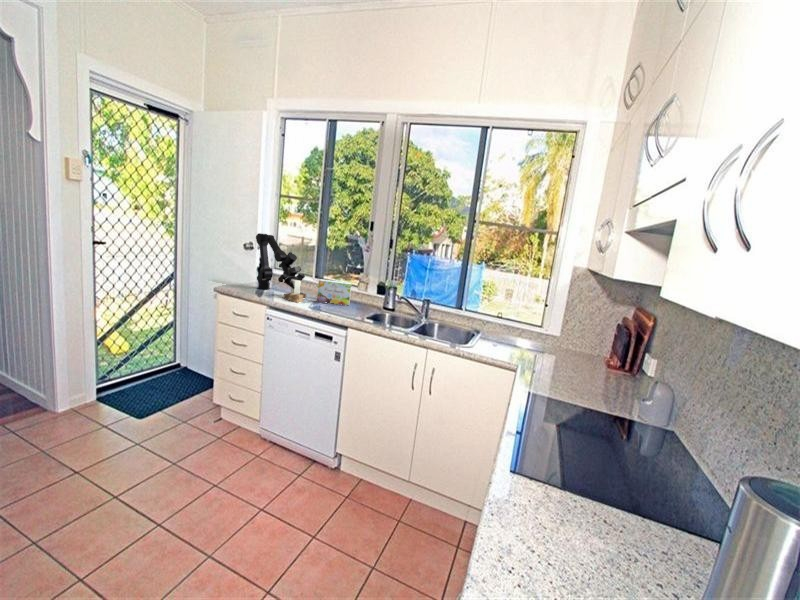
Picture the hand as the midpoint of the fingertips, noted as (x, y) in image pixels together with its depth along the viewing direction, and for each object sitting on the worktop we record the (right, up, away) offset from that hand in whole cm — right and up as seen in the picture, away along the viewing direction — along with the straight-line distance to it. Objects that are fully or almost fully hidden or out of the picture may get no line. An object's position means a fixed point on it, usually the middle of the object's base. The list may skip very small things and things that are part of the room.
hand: (297, 288), depth 251 cm
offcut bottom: (+1, -9, -7) cm, 11 cm away
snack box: (+24, -10, +1) cm, 26 cm away
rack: (-2, -7, +2) cm, 7 cm away
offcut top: (+1, -7, -7) cm, 10 cm away
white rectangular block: (-2, -7, +2) cm, 7 cm away
